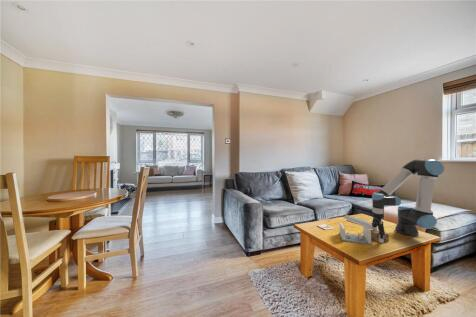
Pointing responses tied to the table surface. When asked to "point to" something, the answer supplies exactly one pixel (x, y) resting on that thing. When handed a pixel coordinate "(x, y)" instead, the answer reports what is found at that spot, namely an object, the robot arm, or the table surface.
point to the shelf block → (376, 235)
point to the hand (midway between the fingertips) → (377, 238)
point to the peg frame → (356, 236)
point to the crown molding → (359, 221)
